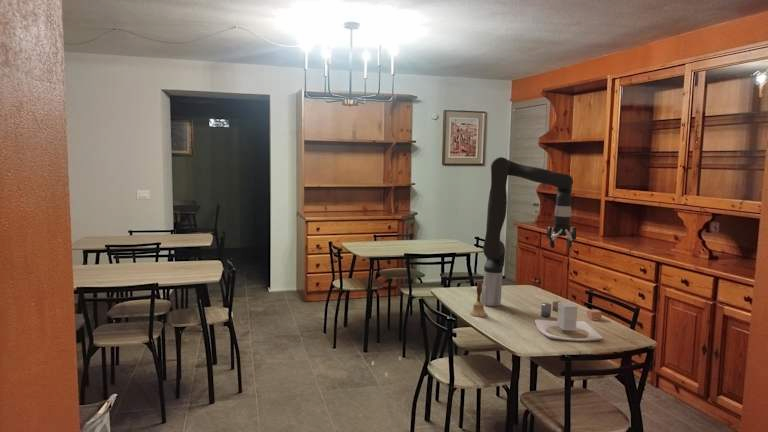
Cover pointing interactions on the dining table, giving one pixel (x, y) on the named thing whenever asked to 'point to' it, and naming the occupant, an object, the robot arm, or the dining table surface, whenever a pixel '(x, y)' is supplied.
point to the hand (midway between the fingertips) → (560, 248)
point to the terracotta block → (594, 314)
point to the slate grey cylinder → (546, 310)
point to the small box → (567, 316)
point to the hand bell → (478, 304)
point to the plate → (579, 324)
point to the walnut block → (555, 306)
